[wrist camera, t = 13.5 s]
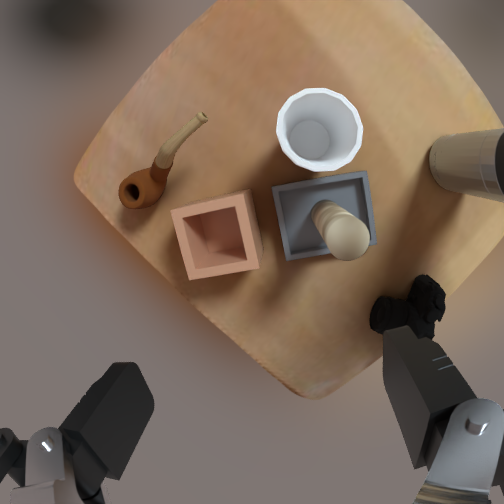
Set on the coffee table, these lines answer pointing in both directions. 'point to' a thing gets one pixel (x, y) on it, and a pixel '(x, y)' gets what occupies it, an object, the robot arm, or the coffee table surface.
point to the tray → (302, 201)
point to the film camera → (411, 309)
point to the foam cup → (319, 129)
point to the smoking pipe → (156, 170)
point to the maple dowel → (340, 230)
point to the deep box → (219, 235)
